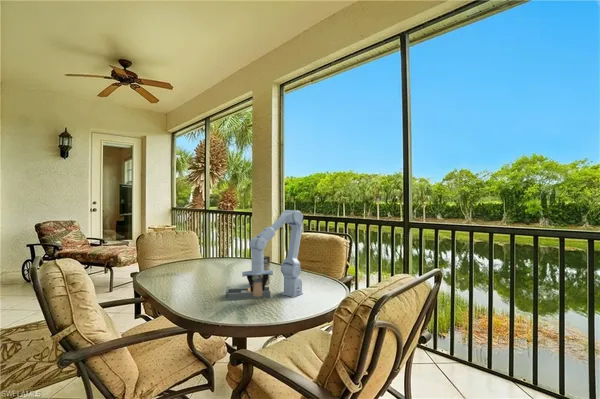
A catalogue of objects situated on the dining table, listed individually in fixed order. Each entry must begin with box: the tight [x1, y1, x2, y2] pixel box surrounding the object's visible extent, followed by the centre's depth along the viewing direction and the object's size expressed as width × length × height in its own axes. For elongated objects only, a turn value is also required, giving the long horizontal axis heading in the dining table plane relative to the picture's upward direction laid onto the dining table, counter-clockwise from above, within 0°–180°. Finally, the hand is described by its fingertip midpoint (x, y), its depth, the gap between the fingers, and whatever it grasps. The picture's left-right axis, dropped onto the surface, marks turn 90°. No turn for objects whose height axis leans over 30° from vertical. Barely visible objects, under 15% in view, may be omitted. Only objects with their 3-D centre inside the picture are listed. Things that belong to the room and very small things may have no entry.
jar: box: [252, 279, 263, 297], centre depth 143 cm, size 5×5×7 cm
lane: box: [225, 286, 273, 301], centre depth 153 cm, size 23×9×4 cm, turn 101°
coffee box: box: [252, 255, 271, 286], centre depth 173 cm, size 9×6×16 cm
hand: (257, 290), depth 143 cm, fingers closed on jar, 5 cm apart
